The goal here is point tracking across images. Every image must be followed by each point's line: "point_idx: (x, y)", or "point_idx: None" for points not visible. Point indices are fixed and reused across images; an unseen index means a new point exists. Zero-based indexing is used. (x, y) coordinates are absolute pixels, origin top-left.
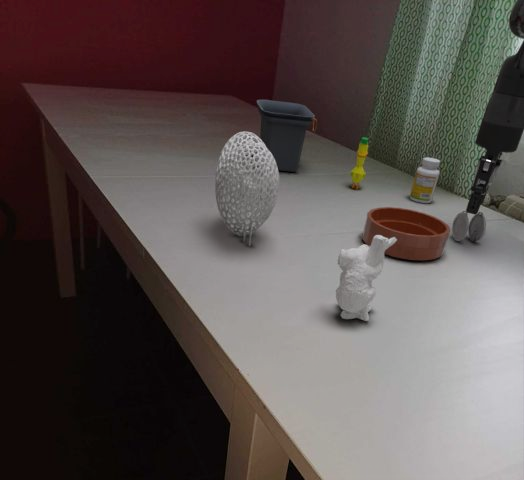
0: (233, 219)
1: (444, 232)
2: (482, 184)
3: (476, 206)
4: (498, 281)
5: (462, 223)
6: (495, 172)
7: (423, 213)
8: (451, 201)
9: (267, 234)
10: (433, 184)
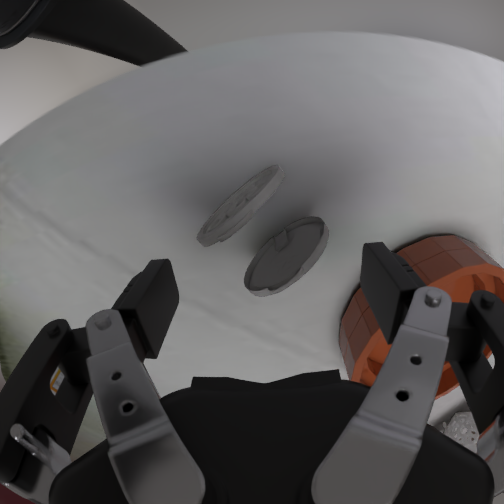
0: (461, 428)
1: (485, 272)
2: (142, 343)
3: (409, 268)
4: (481, 95)
5: (296, 257)
6: (430, 405)
7: (363, 360)
8: (19, 308)
9: (446, 410)
10: (57, 375)
